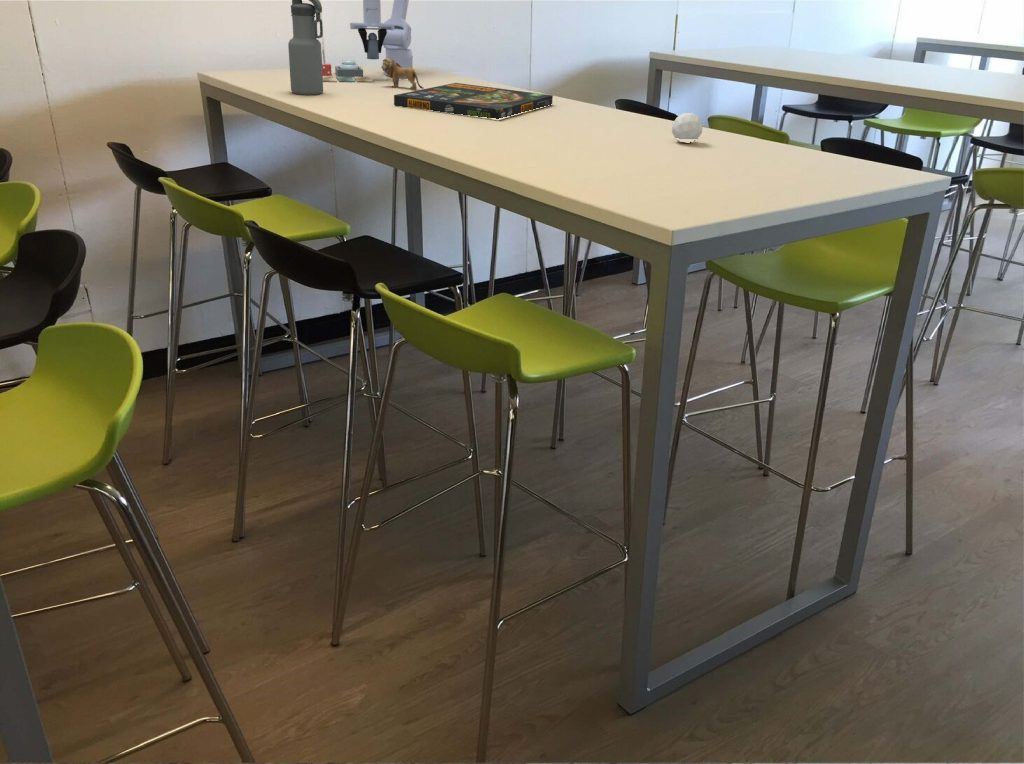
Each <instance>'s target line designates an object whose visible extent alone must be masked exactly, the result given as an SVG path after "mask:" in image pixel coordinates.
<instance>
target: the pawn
mask: <svg viewBox="0 0 1024 764" xmlns="http://www.w3.org/2000/svg"><path fill="white" fill-rule="evenodd" d="M366 59H367V60H380V53H379V40H378V34H376V33H375V32H370V33H369V34H367V53H366Z"/></svg>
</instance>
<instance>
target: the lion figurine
mask: <svg viewBox="0 0 1024 764" xmlns="http://www.w3.org/2000/svg"><path fill="white" fill-rule="evenodd" d="M381 69H382V71H383V73H384V72H385V73H386V74H387V75H388V76H387V75H386V74H385V73H384V74H385V75H386V76H387V77H388V78H390V79H392V83H393V85H392V86H391V88H392V89H395V88H397V86H398V87H399V84H400V83H399V81H400V80H407V79H408V81H409V83H410V84H411V86H410V89H412V90H411V91H417V87H419V89H420V90H422V89H425V88H424V87H423V86H422V85H421V84H420V83H419V78H418V75H417V72H416V70H415V68H402V67H401V66H400V65H399V64H398V63H396V62H395V61H394V60H392V59H390V58H386V57H385V58H384V59H382V65H381ZM415 80H416V82H415ZM417 85H418V86H417Z"/></svg>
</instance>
